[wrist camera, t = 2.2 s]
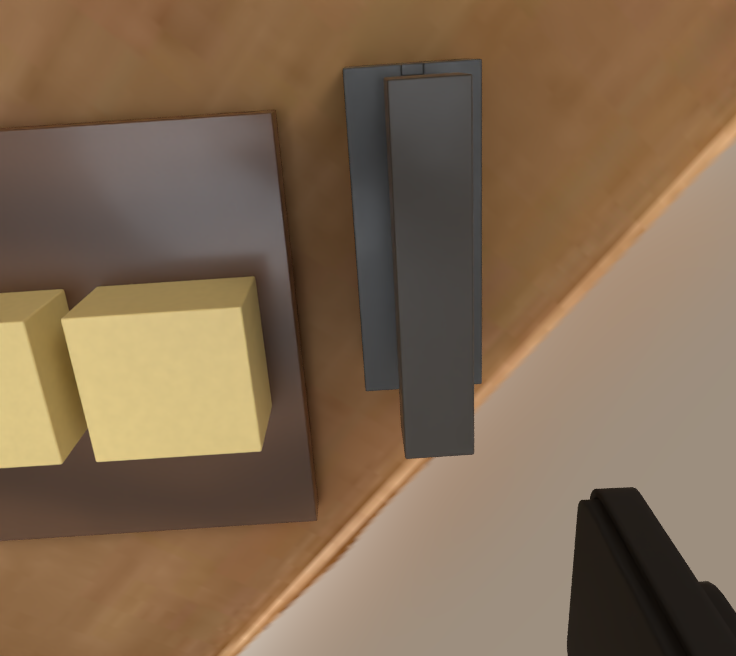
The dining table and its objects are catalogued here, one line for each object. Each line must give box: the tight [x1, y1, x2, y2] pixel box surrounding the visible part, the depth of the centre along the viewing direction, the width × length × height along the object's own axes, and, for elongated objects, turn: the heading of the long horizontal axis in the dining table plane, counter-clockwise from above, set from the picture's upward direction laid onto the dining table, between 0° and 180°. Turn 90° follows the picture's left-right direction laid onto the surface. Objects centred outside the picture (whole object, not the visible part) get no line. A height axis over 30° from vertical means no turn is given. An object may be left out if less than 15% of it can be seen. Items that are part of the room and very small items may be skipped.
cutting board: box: [0, 110, 318, 541], centre depth 31 cm, size 20×18×2 cm
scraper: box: [383, 72, 474, 459], centre depth 26 cm, size 12×2×10 cm, turn 4°
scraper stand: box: [343, 59, 482, 391], centre depth 28 cm, size 13×5×4 cm, turn 4°
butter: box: [61, 276, 272, 462], centre depth 29 cm, size 6×7×4 cm
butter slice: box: [0, 289, 88, 468], centre depth 29 cm, size 6×4×4 cm, turn 4°
